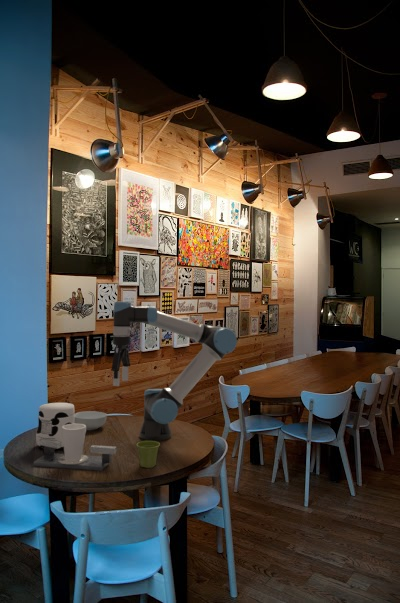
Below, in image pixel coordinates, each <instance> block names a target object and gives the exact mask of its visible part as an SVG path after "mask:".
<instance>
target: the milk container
mask: <svg viewBox="0 0 400 603" xmlns="http://www.w3.org/2000/svg"><path fill="white" fill-rule="evenodd" d="M37 417H38V419H37V420H38V426H37V430H36V434H35V441H36V442H35V443H36V445H37V447H39V448H41V449H44V446H42V445H39V439H41V438H48V439H53V440H57V441H62V445H61V447H60V448H58V449H56V448H55V450H62V449H64V444H63V435H62V426H64V425H67V424H75V423H74V420H75V405H74V404H73V403H69V402H51V403H45V404H41V405H40V406H38V416H37Z"/></svg>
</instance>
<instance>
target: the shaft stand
mask: <svg viewBox="0 0 400 603" xmlns="http://www.w3.org/2000/svg"><path fill="white" fill-rule="evenodd" d="M39 445H42V446H44V448H43V455H41V456H40V457H39V458H37V459H36V460H34V461H33V463H32V465H33V466H32V467H41V468H42V467H43V468H56V469H57V468H58V469H59V468H60V469H69V470H70V469H71V470H88V471H101V472H102V471H103V470H105V468H106V467H107V466H108V465H109V464H110V463H112V461H113V460H112V459H113V458H112V457H113V455H116V454H117V446H114V445H113V446H111V445H97V444H92V445H91V446H90V449H89V450H90V454H98V455H86V454H82V458H81V460H78V461H67V460H65V453H56V452H55V451H56V450H59V449H58V448H60V447H61V445H62V441H57V440H53V439H48V438H41V439H39ZM55 448H56V449H55ZM99 454H100V456H99Z"/></svg>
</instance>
